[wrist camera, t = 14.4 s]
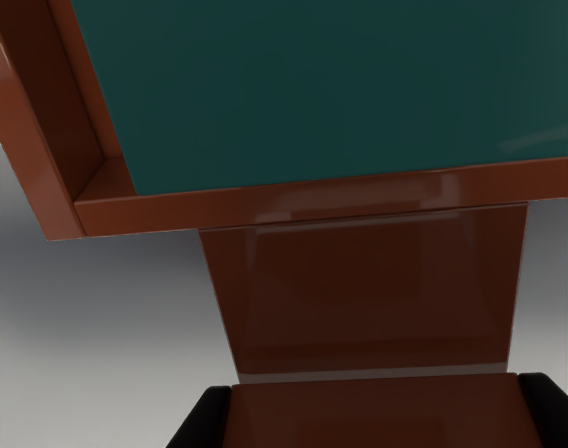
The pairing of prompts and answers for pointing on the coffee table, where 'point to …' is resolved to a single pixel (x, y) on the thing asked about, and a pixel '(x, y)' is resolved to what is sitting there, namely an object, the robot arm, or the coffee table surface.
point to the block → (326, 86)
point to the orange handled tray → (304, 265)
